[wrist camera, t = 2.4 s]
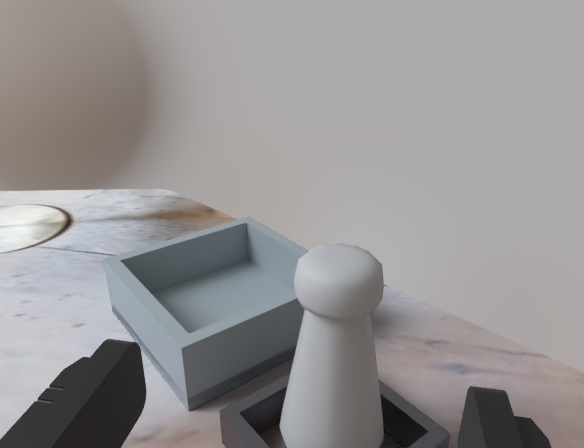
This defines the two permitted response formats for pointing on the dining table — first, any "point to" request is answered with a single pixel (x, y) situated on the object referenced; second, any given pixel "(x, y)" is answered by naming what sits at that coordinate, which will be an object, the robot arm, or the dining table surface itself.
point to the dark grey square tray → (268, 409)
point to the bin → (210, 305)
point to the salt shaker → (335, 352)
